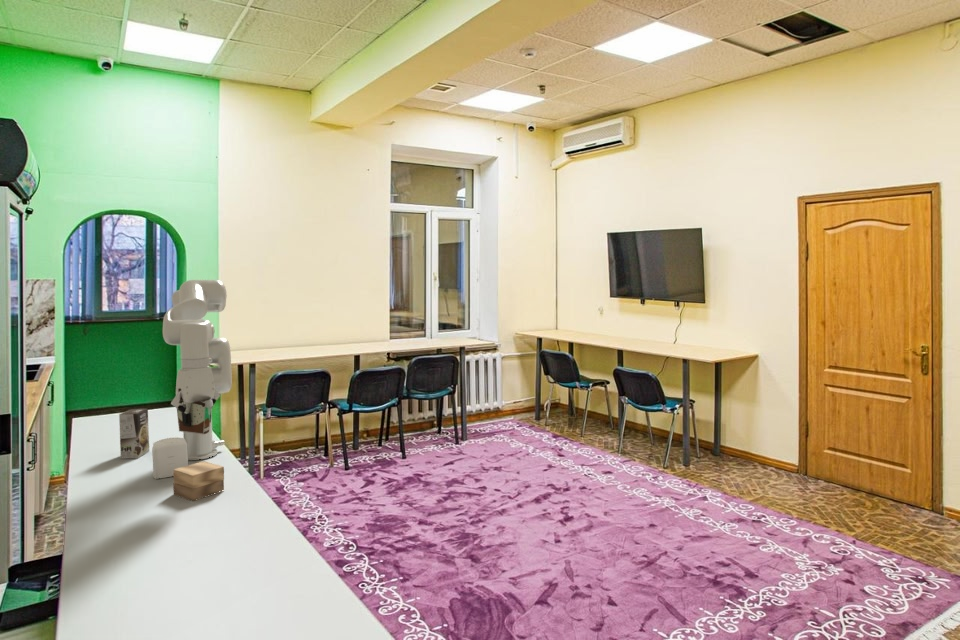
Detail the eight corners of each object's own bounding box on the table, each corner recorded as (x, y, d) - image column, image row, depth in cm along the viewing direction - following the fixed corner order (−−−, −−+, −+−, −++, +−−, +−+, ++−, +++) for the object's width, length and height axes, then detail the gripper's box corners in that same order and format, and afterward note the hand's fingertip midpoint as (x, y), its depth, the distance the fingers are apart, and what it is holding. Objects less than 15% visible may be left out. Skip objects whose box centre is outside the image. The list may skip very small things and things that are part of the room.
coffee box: (138, 458, 222) (137, 413, 221) (120, 458, 222) (118, 414, 220) (150, 451, 231) (148, 408, 230) (132, 451, 231) (130, 408, 230)
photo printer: (154, 480, 199) (152, 442, 198) (152, 476, 202) (151, 439, 201) (189, 474, 204) (188, 437, 204) (187, 471, 208) (186, 434, 207)
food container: (223, 430, 188) (222, 397, 187) (207, 434, 182) (206, 401, 182) (191, 426, 192) (190, 394, 192) (175, 430, 187) (174, 397, 186)
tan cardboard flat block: (204, 486, 195) (204, 474, 194) (224, 492, 189) (223, 480, 189) (173, 496, 186) (173, 482, 186) (193, 503, 181) (192, 489, 180)
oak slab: (204, 473, 195) (204, 461, 194) (224, 479, 189) (223, 466, 189) (173, 482, 186) (173, 469, 186) (193, 489, 181) (192, 475, 180)
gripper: (213, 359, 194) (215, 416, 196) (159, 366, 180) (162, 428, 181) (228, 361, 190) (230, 420, 192) (174, 368, 176) (176, 431, 177)
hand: (197, 423), depth 186 cm, fingers closed on food container, 5 cm apart
